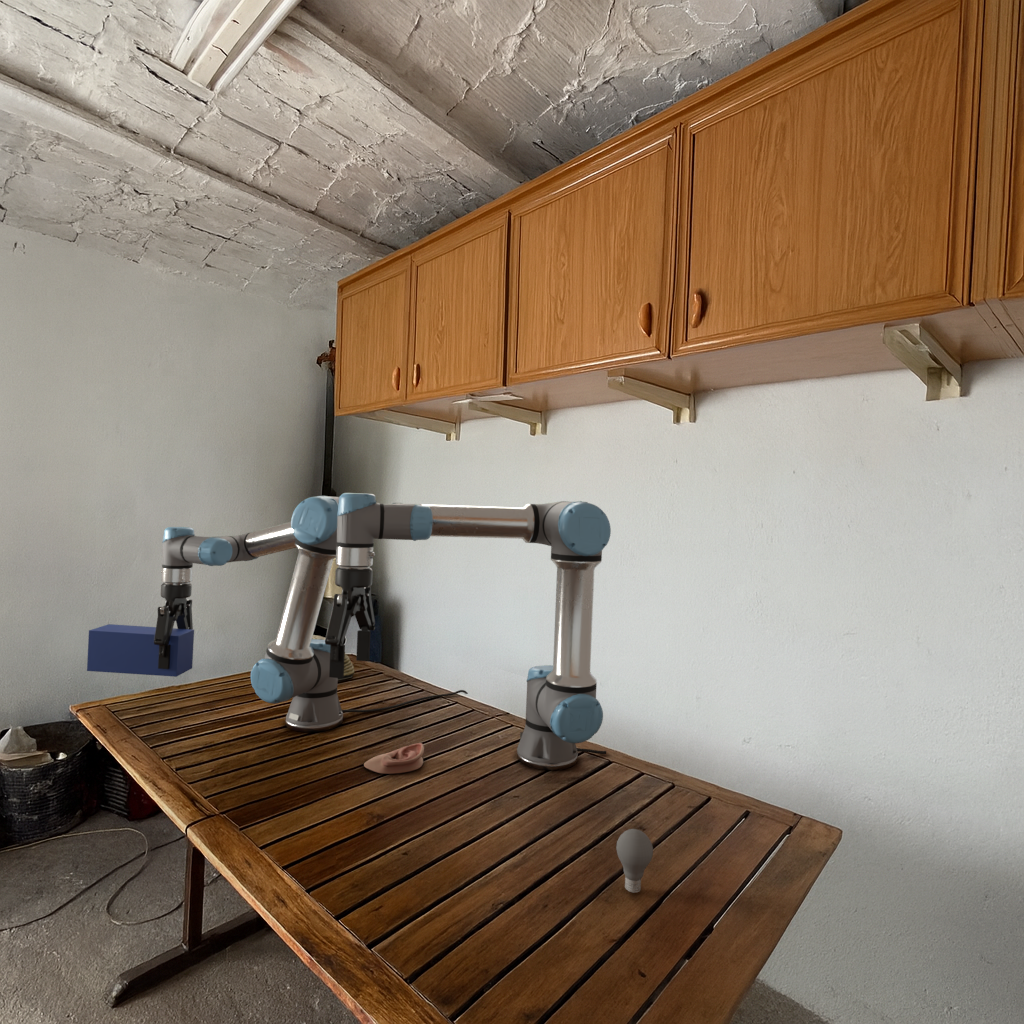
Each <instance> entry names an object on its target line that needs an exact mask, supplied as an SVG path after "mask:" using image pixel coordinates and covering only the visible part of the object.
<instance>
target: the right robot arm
mask: <svg viewBox="0 0 1024 1024" xmlns="http://www.w3.org/2000/svg"><path fill="white" fill-rule="evenodd" d="M338 497H339V504H338V515H337V546H336V558H335V565H336V566H338V567H336V569H335V575H334V584H335V586H337V587H340V588H341V593H334V595H333V604H332V608H331V612H330V613H331V614H330V618H329V621H328V626H327V629H326V635H325V644H326V645H330V670H329V677H333V678H343V677H344V658H345V654H346V644H344V641H345V639H346V635H347V632H348V629H349V627H350V623H351V620H352V618H353V617H355V619H356V622H357V625H358V628H359V630H357V631H356V635H357V636H356V657H355V658H356V659H355V660H356V661H357V662H370V655H371V631H373V632H374V631H375V630H376V619H375V613H374V607H373V600H372V587H371V586H372V585H373V572H374V571H373V568H371V566H373V563H374V557H375V556H376V552H375V551H374V546H375V545H374V544H375V543H374V542H375V540H398V541H399V540H400V541H414V542H416V541H427V540H429V539H430V538H431V537H435V538H436V537H437V538H439V537H440V538H478V539H479V538H480V539H517V540H519V539H521V540H523V542H524V543H526V544H539V545H544V546H547V547H550V561H551V562H552V563H553V564H554V565H555V567H556V581H555V582H556V586H555V590H556V591H555V609H554V611H555V612H554V633H553V634H554V636H553V637H554V638H553V657H552V658H553V659H552V660H553V661H552V664H553V665H552V664H549V665H548V664H545V665H536V666H532V667H530V668H529V669H528V671H527V677H526V701H525V702H526V703H525V723H524V728H523V731H520V732H519V739H520V740H519V741H518V742H519V743H518V744H517V747H516V758H517V760H518V761H519V762H520V763H521V764H522V765H524V766H527V767H529V768H533V769H535V770H543V771H560V770H561V771H562V770H566V769H570V768H571V767H573V766H575V765H577V764H578V757H579V756H578V755H579V752H580V753H589V754H597V755H607V750H598V749H597V750H596V749H590V748H581V747H580V748H579V747H577V744H581V743H585V742H587V741H589V740H590V739H592V738H593V736H595V735H596V734H597V733H598V731H599V730H600V728H601V726H602V725H603V720H604V711H603V708H602V705H601V703H600V701H599V700H598V699H597V686H598V685H597V683H598V681H597V678H596V677H595V676H594V675H593V674H592V672H591V664H592V640H593V639H592V638H593V617H594V614H593V613H594V591H595V571H596V568H597V567H598V566H599V565H600V564H601V563H602V560H603V559H602V558H603V550H604V548H605V547H607V545H608V543H609V541H610V539H611V534H612V530H611V523H610V520H609V518H608V516H607V514H606V513H605V512H604V511H603V510H602V508H600V507H599V506H598V505H596V504H594V503H590V502H588V501H581V500H578V501H570V500H569V501H568V500H561V501H554V502H548V503H547V502H546V503H526V504H525V505H524V506H523V507H515V506H514V507H513V506H512V507H511V506H510V507H509V506H484V505H483V506H482V505H454V504H452V505H451V504H450V505H449V504H426V503H425V504H424V503H421V504H420V503H403V502H393V503H380V502H377V500H376V495H375V494H373V493H360V492H357V493H356V492H344V493H342V494H341V495H339V496H338Z"/></svg>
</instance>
